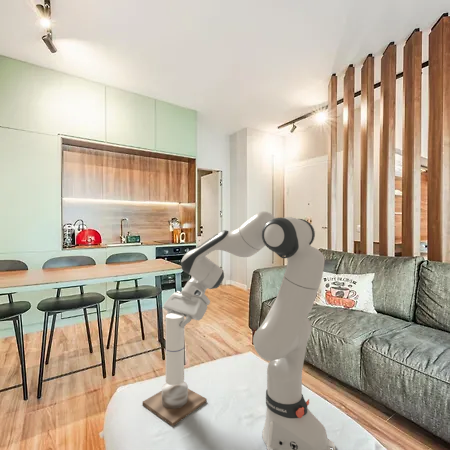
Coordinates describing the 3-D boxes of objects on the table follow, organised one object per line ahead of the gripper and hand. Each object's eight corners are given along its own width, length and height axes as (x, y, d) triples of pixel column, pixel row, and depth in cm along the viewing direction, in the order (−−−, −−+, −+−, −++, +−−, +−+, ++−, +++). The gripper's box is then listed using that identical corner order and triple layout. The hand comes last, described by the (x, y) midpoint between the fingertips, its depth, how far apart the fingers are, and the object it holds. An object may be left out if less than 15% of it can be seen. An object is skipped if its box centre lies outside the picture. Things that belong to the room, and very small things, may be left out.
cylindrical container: (174, 387, 100) (174, 319, 101) (161, 380, 105) (161, 316, 105) (188, 378, 106) (188, 314, 106) (175, 372, 110) (175, 311, 110)
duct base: (206, 401, 106) (206, 385, 106) (172, 426, 93) (172, 408, 93) (176, 384, 117) (176, 370, 117) (142, 404, 104) (142, 388, 104)
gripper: (171, 286, 118) (152, 314, 110) (205, 293, 105) (187, 326, 97) (179, 294, 121) (161, 322, 113) (213, 302, 108) (196, 334, 100)
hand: (173, 324), depth 105 cm, fingers closed on cylindrical container, 7 cm apart
